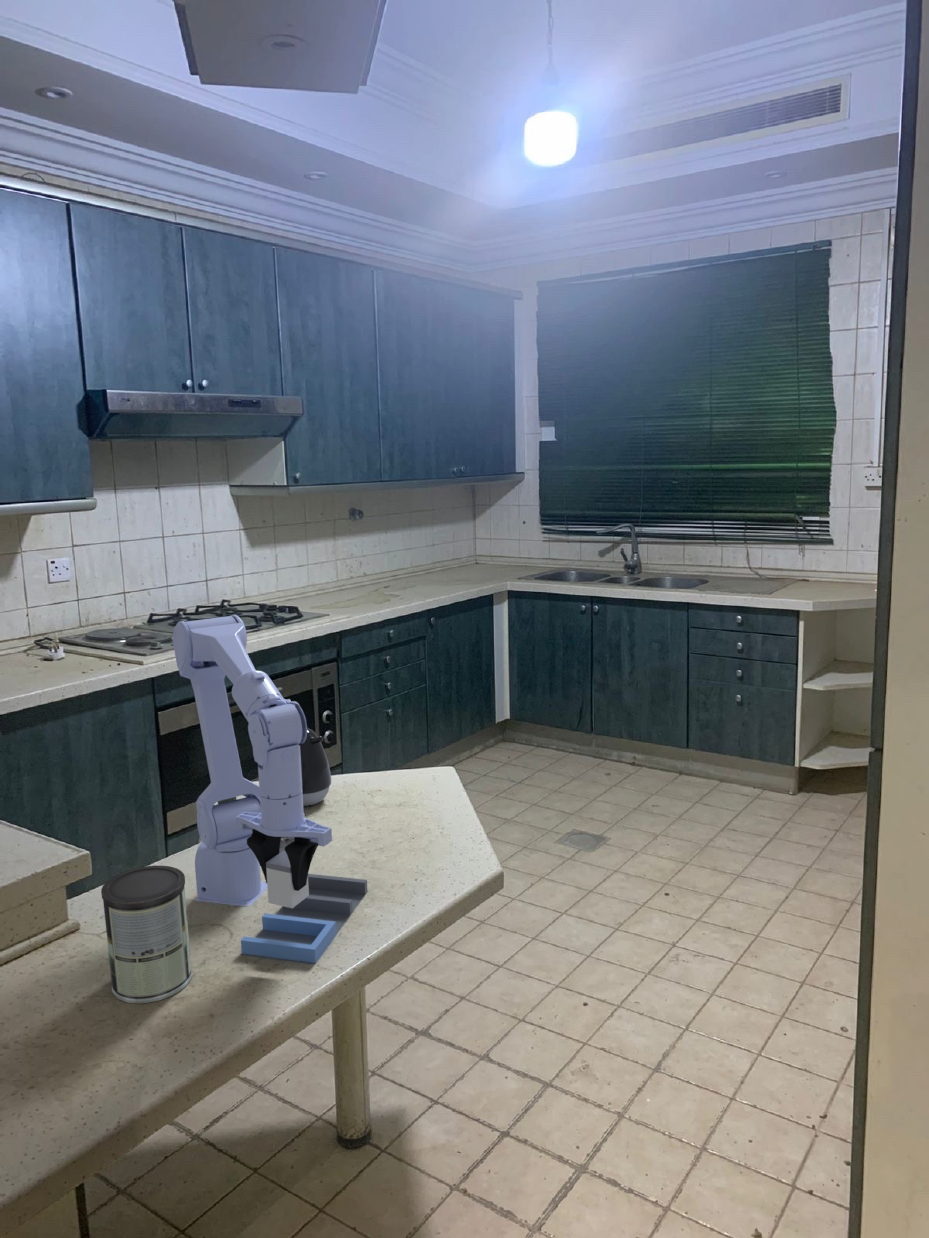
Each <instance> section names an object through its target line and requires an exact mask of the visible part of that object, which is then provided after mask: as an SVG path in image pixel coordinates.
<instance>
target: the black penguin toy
mask: <svg viewBox="0 0 929 1238" xmlns="http://www.w3.org/2000/svg"><path fill="white" fill-rule="evenodd" d="M323 741H324V737H323V736H321V735H320V736H318V735H317V733H316V732H315V730H313V729H310V727H307V737H306V740H305V742H304V743H302V744H300V743H299V744H298V745H299V746H300V755H301V774H302V793H303V807H310V806H309V805H311V806H314V805H317V804H319V803H320V802H322V801H323V800H324V799H325V798H326V796H327V795H328V792H329V790H330V786H331V785H332V775H331V773H332V772H331V770H330V766H329V760H328V758H327V754H326V752H325V748H324V747H323V744H322V742H323Z"/></svg>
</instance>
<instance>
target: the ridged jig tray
mask: <svg viewBox="0 0 929 1238" xmlns="http://www.w3.org/2000/svg"><path fill="white" fill-rule="evenodd" d="M308 886H309V896H308V897H306V898H305V899H304V900H303V901H301V902H300V903H299V904H297V905H296V906H295V907H294V908H288V907H284V906H281V908H280V909H279V911H278V912H277V913H275V914H274V913H273V914H272V913H264V914H263V915H262V916H261V921H262V929H261V931H260V932H259V933H258V935H256V936H255V937H250V936H243V937H242V938H241V939H240V946H241V947H240V949H241V954H240V956H248V957H255V958H261V959H262V958H263V959H270V960H279V961H285V962H291V963H292V962H295V963H300V964H301V963H302V964H309V965H316V964H317V963H318V961H319V960H320V958H321V957H322V956H323V954H324V953H325V952H326V950H327V949H328V947H329V946H330V945H331V943H332V942H333V940H334V939H335V937H336V936H337V934H338V933H340V930H342V928H343V926H344V925H345V924H346V923H347V921H348V920H349V918H350V917H351V916H352V914H353V913H354V912H355V910H356V908H357V907H358V906H359V904H360V903H361V901H362V900H363V899H364V897H366V895H367V893H368V892H369V891H368V879H363V878H354V877H353V878H352V877H345V876H344V877H343V876H335V875H334V876H333V875H324V874H317V873H316V874H314V873H308Z"/></svg>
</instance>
